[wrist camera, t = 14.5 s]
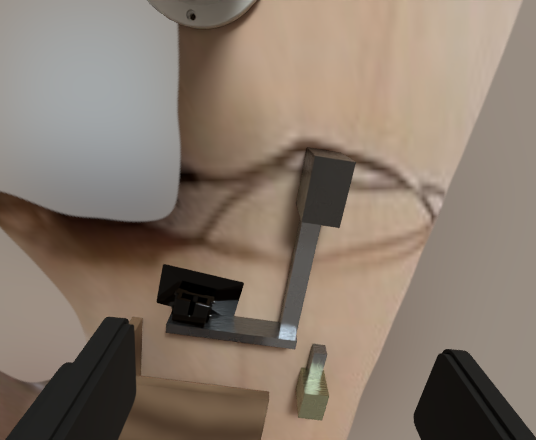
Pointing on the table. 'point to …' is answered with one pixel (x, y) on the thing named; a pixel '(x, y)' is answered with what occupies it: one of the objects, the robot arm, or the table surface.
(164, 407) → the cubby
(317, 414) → the pale green block
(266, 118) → the table surface
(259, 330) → the grey angular bent frame
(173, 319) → the black phone stand
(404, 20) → the table surface
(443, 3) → the table surface
